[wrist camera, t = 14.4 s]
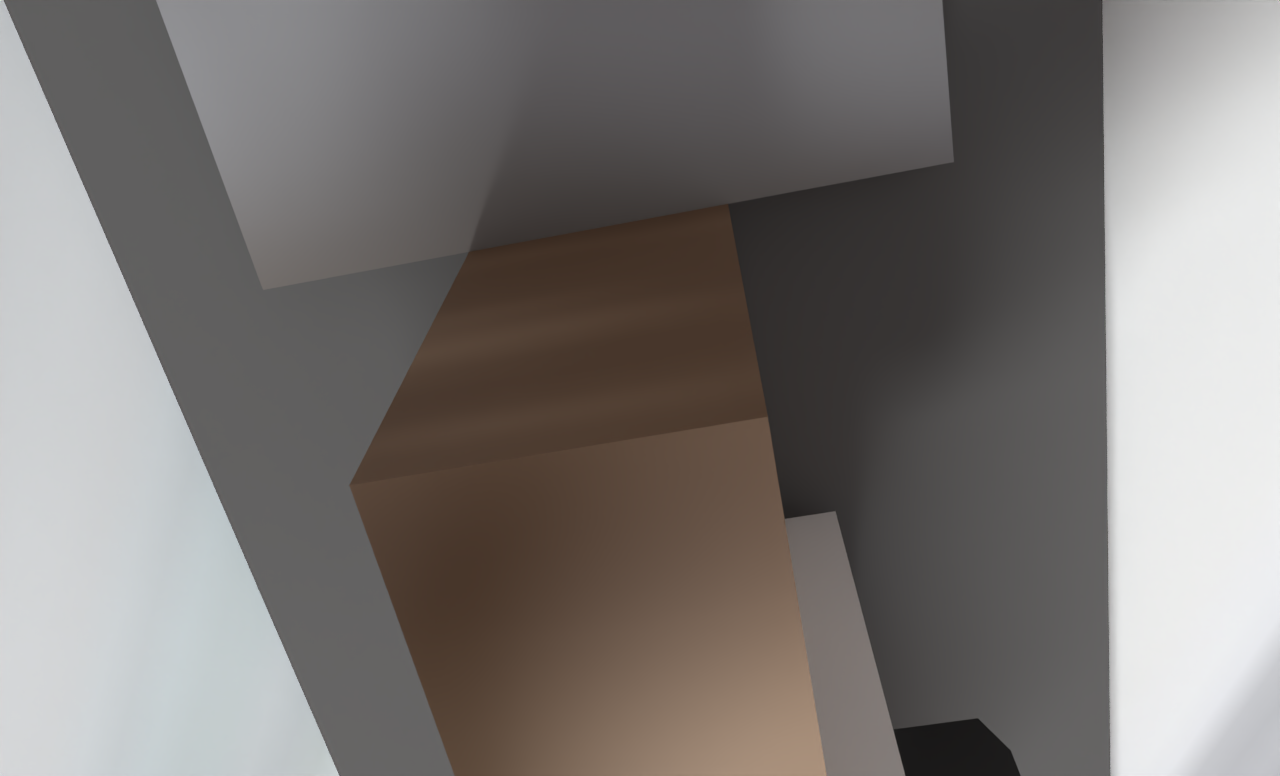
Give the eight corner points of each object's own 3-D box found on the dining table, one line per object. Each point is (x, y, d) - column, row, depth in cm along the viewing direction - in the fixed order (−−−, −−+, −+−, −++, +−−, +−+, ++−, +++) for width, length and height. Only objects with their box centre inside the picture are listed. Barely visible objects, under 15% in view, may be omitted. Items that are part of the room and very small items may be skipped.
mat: (464, 1036, 21) (461, 1057, 20) (-456, -1131, 9) (-505, -1173, 8) (1103, 964, 20) (1111, 985, 19) (1063, -1662, 7) (1084, -1740, 7)
